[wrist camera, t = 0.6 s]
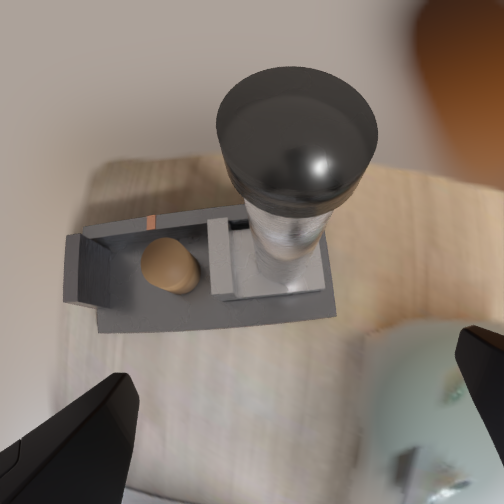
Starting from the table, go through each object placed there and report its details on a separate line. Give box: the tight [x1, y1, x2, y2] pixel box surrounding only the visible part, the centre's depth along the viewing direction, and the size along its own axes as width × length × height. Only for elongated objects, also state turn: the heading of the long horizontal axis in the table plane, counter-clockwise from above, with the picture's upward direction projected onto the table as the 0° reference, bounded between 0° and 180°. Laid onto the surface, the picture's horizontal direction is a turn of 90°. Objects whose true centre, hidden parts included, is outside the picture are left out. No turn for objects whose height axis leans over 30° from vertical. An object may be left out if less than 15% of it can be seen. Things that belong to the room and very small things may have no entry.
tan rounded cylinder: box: [141, 237, 201, 295], centre depth 20 cm, size 3×3×4 cm
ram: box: [207, 67, 378, 301], centre depth 14 cm, size 7×4×15 cm, turn 95°
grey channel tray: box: [63, 204, 337, 333], centre depth 19 cm, size 17×8×5 cm, turn 95°
